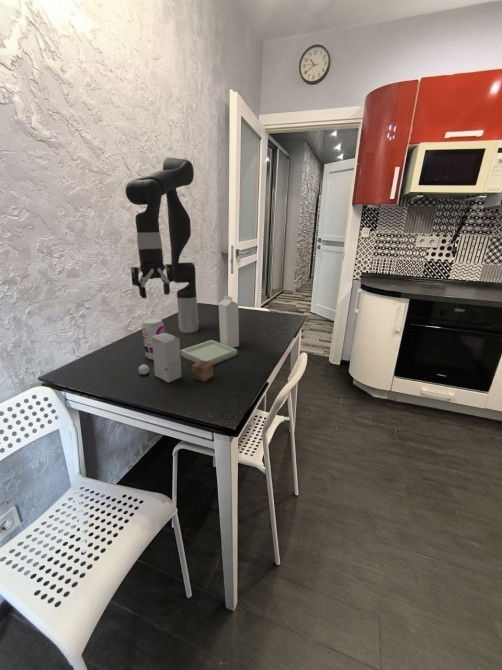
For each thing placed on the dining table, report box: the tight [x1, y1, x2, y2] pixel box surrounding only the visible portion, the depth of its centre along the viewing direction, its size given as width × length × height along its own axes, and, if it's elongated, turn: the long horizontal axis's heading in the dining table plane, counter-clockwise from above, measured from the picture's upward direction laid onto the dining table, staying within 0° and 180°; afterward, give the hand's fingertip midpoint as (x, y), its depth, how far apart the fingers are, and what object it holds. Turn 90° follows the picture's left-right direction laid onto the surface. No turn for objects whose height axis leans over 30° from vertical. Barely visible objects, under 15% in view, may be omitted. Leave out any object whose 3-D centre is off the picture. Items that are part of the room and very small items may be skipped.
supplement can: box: [141, 317, 166, 361], centre depth 120 cm, size 8×8×15 cm
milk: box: [218, 294, 240, 348], centre depth 129 cm, size 6×6×22 cm
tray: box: [180, 339, 238, 366], centre depth 123 cm, size 16×16×2 cm
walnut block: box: [191, 360, 214, 382], centre depth 105 cm, size 5×5×5 cm
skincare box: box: [152, 332, 182, 383], centre depth 104 cm, size 8×6×15 cm
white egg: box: [138, 364, 150, 376], centre depth 108 cm, size 4×4×4 cm
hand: (155, 296), depth 105 cm, fingers open, 8 cm apart
